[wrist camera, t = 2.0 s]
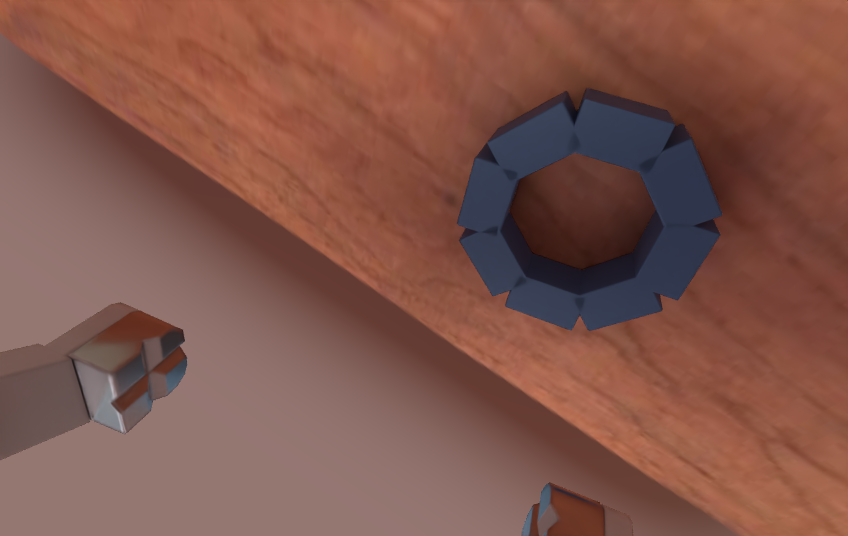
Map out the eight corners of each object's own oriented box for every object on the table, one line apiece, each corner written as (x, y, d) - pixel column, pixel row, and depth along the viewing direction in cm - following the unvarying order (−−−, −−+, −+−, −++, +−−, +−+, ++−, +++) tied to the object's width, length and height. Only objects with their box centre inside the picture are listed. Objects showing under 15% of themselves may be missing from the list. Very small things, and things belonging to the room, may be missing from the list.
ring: (755, 134, 18) (774, 151, 16) (639, 326, 24) (642, 356, 22) (508, 65, 20) (497, 73, 18) (453, 260, 25) (440, 283, 23)
